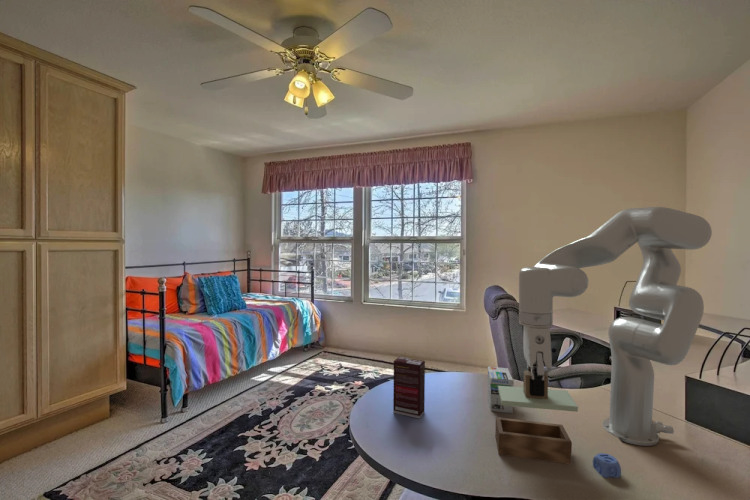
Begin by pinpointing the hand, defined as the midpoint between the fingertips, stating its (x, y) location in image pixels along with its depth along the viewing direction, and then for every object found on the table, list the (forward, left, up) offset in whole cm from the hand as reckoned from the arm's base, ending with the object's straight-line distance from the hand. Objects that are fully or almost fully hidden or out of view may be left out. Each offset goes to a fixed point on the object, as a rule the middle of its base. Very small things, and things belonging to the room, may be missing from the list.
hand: (535, 391), depth 91 cm
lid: (0, 0, -2) cm, 2 cm away
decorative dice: (-14, +5, -16) cm, 22 cm away
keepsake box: (+1, 0, -15) cm, 15 cm away
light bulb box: (+6, -24, -16) cm, 29 cm away
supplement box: (+33, -13, -16) cm, 38 cm away
